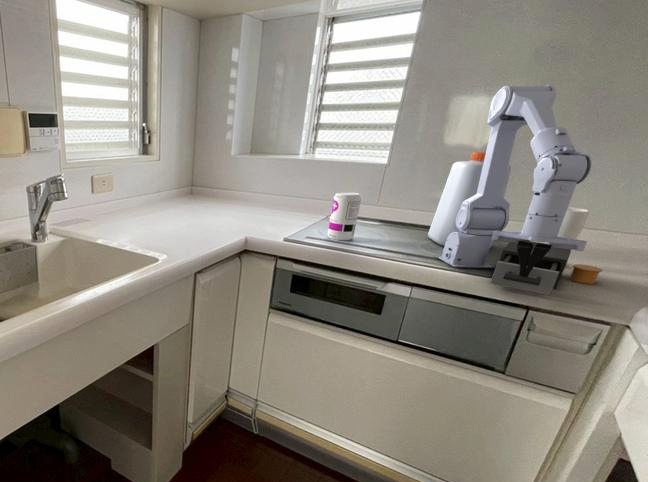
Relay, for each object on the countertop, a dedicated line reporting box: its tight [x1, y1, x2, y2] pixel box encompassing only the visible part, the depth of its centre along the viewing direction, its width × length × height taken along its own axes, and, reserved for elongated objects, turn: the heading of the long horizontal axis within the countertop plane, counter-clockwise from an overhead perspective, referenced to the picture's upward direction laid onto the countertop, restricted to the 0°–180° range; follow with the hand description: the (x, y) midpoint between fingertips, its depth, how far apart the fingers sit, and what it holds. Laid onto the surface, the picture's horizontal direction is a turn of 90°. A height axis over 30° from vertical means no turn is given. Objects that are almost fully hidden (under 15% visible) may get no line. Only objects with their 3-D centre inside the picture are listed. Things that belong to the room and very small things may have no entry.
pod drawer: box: [490, 254, 559, 296], centre depth 93 cm, size 17×10×5 cm, turn 133°
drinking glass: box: [542, 206, 590, 244], centre depth 109 cm, size 7×7×15 cm
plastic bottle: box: [427, 151, 512, 248], centre depth 126 cm, size 15×15×28 cm
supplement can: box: [327, 191, 362, 241], centre depth 135 cm, size 8×8×15 cm
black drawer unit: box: [498, 241, 572, 290], centre depth 101 cm, size 14×12×7 cm
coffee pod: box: [569, 263, 603, 285], centre depth 98 cm, size 5×5×3 cm
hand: (523, 277), depth 89 cm, fingers closed, pressing on pod drawer
